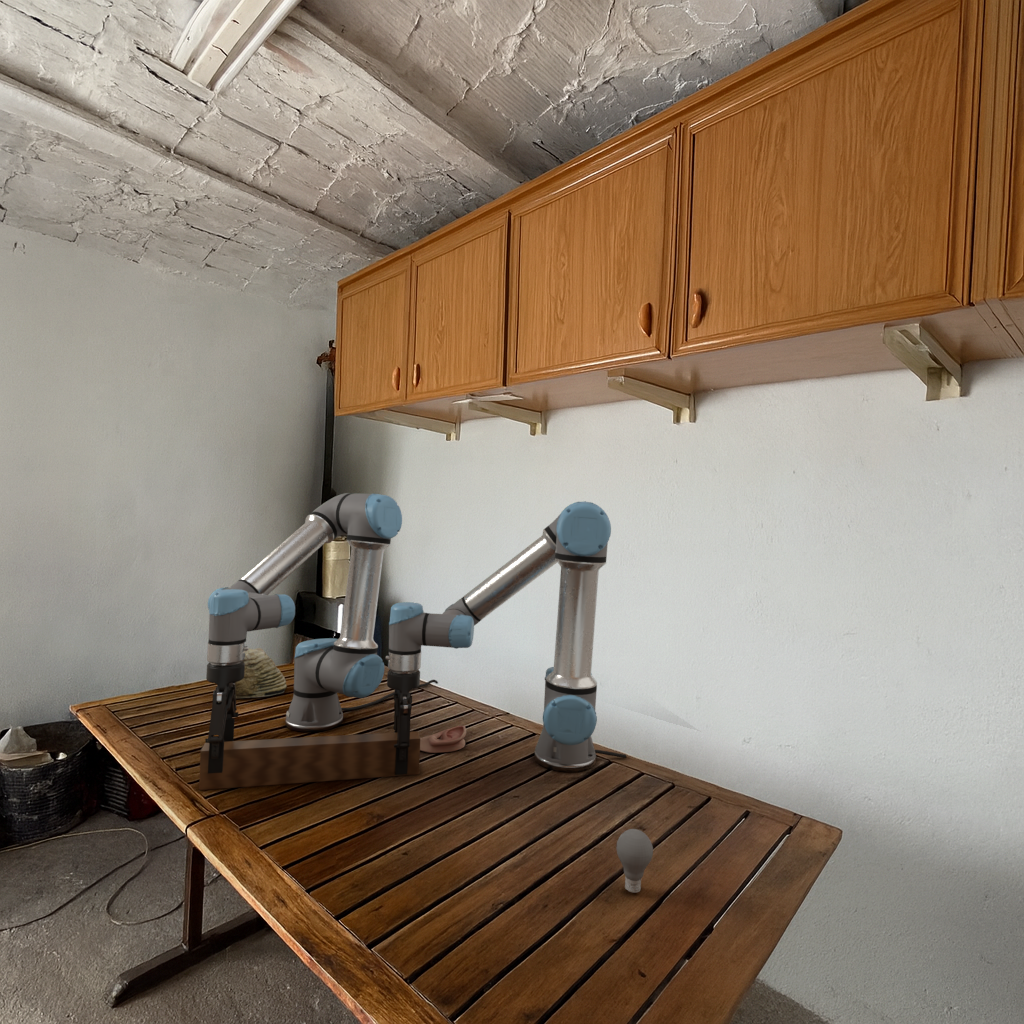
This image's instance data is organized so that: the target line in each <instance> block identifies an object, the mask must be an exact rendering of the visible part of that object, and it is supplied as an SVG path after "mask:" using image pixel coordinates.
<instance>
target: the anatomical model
mask: <svg viewBox="0 0 1024 1024" xmlns="http://www.w3.org/2000/svg"><path fill="white" fill-rule="evenodd" d="M466 735H467V728H466V726H464V725H458V726H453V727H450V728H446V729H443V730H441V731H439V732H436V733H433V734H429V735H424V736H422V737H420V752H425V753H430V754H433V753H434V754H436V753H449V752H455V751H458V750H461V749H463V748H465V746H466V740H465V737H466Z"/></svg>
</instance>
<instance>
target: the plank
mask: <svg viewBox="0 0 1024 1024" xmlns="http://www.w3.org/2000/svg"><path fill="white" fill-rule="evenodd" d="M420 738H421V737H420V732H419V731H418V730H416V731H410V746H409V747H408V767H407V774H403V775H395V761H396V748H394V745H395V744H397V732H395V733H394V732H380V733H361V734H359V733H358V734H343V735H341V734H340V735H321V736H306V737H305V736H303V737H288V738H287V737H286V738H270V739H269V738H268V739H267V738H266V739H249V740H234V741H229V742H224V756H223V772H222V773H208V760H209V743H203V746H202V748H201V749H200V751H199V753H200V756H199V780H198V782H199V784H198V790H199V791H206V790H219V789H221V790H222V789H235V788H245V787H246V788H247V787H248V788H250V787H260V786H275V785H291V784H303V783H315V782H332V781H345V780H358V779H374V778H388V777H399V776H402V777H403V776H415V775H416V776H417V775H420V760H421V759H420V758H421V750H420Z"/></svg>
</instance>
